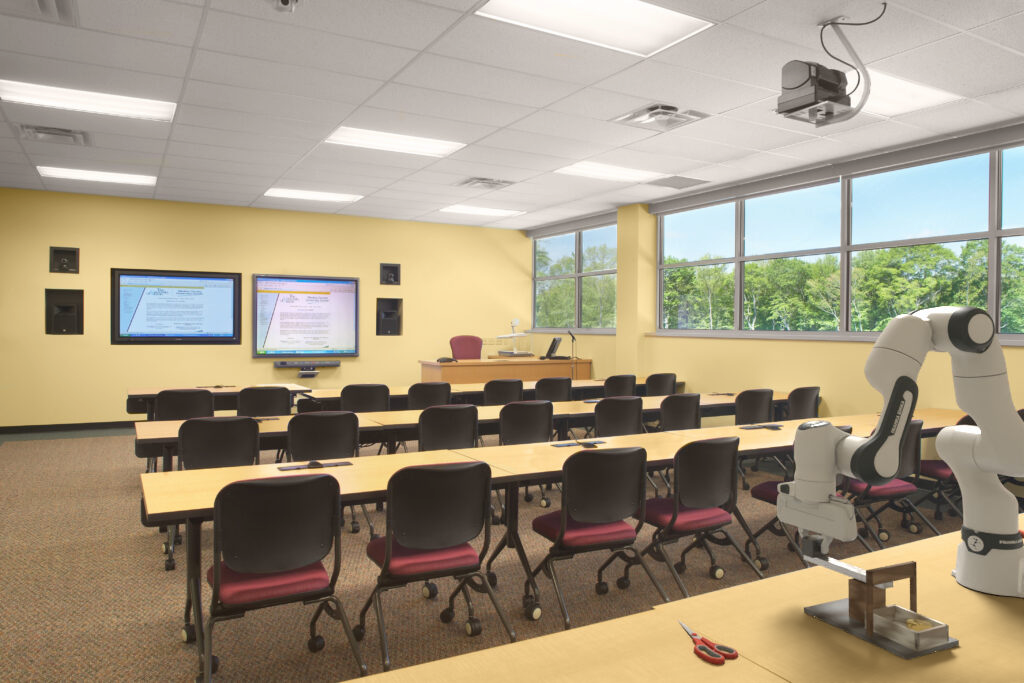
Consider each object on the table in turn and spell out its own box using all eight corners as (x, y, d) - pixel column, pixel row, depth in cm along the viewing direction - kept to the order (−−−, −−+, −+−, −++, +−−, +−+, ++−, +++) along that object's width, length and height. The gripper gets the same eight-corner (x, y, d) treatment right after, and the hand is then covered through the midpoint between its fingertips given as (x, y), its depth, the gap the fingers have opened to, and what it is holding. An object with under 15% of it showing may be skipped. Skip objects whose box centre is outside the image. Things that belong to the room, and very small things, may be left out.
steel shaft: (800, 560, 154) (800, 536, 155) (816, 557, 156) (816, 534, 156) (879, 589, 136) (879, 563, 136) (896, 586, 138) (896, 559, 138)
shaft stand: (803, 612, 147) (803, 549, 147) (851, 601, 153) (851, 540, 153) (907, 660, 125) (906, 585, 125) (958, 645, 131) (958, 574, 131)
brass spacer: (938, 626, 129) (938, 641, 129) (918, 617, 133) (918, 632, 133) (920, 629, 128) (921, 645, 128) (901, 620, 132) (901, 635, 132)
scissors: (678, 618, 145) (678, 612, 145) (745, 661, 126) (745, 653, 126) (648, 624, 142) (648, 618, 142) (713, 668, 123) (713, 661, 123)
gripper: (863, 499, 145) (864, 561, 145) (791, 481, 164) (791, 536, 164) (843, 501, 143) (843, 565, 143) (772, 483, 162) (772, 539, 162)
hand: (815, 550), depth 154 cm, fingers closed on steel shaft, 3 cm apart
